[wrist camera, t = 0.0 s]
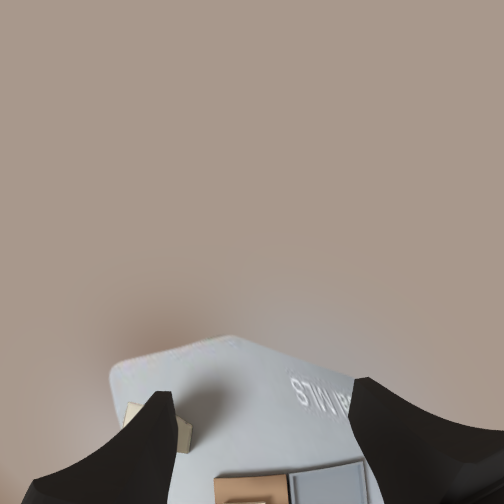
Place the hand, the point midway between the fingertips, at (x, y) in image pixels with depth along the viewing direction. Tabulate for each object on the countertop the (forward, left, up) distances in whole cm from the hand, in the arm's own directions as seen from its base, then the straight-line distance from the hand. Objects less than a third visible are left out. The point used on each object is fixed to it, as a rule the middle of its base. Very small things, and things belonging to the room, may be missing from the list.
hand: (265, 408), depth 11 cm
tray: (-11, -10, -32) cm, 35 cm away
